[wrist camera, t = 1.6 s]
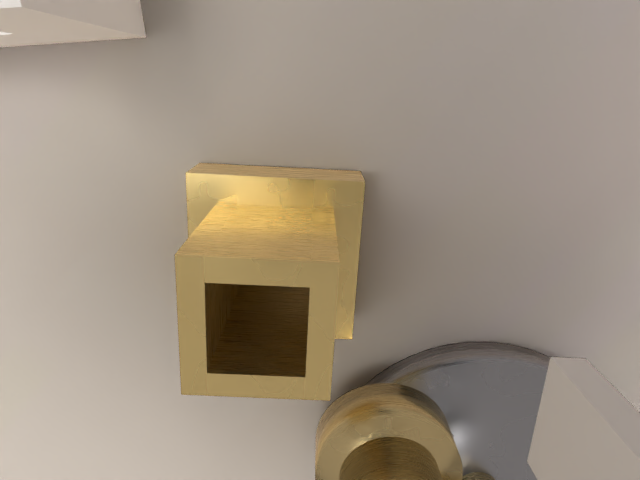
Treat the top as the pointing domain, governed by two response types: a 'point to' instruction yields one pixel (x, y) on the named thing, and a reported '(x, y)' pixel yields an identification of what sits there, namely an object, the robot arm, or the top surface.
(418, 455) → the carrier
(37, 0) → the bracket
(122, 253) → the top surface
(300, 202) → the brass square sleeve
